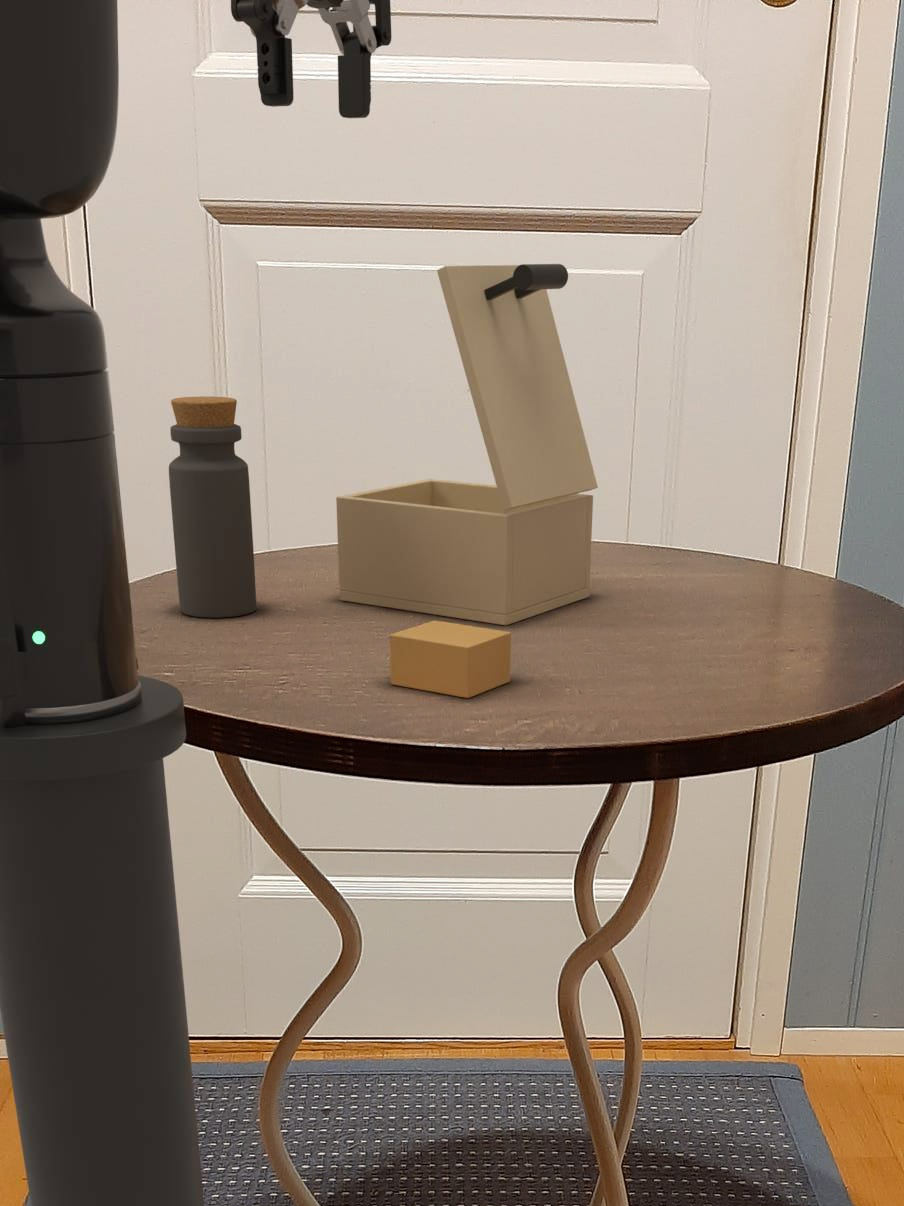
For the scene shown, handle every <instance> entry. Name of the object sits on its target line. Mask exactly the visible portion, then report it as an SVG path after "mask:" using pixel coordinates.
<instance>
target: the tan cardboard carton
mask: <svg viewBox="0 0 904 1206" xmlns="http://www.w3.org/2000/svg"><path fill="white" fill-rule="evenodd" d="M511 650H512V633H511V632H510V631H505V630H498V629H492V628H486V627H479V626H473V625H465V624H461V623H454V622H448V621H447V622H446V621H440V620H431V621H429V622H426V623H422V624H419V625H416V626H413V627H409V628H406V629H404V630H401V631H397V632H394V633H391V634H389V657H390V658H389V659H390V661H389V663H390V685H393V686H397V687H404V688H409V689H415V690H420V691H425V692H432V693H435V694H436V693H437V694H441V695H447V696H448V695H449V696H454V697H459V698H464V699H470V698H472V697H475V696H477V695H480V694H482V693H485V692H487V691H490V690H492V689H495V688H497V687H500V686H503V685H505V684H507V683H510V682H511V657H512V656H511V652H512V651H511Z"/></svg>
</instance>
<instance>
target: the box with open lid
mask: <svg viewBox="0 0 904 1206" xmlns="http://www.w3.org/2000/svg"><path fill="white" fill-rule="evenodd" d="M335 500H336V529H337V531H336V532H337V533H336V534H337V552H338V553H337V556H338V557H337V558H338V559H337V560H338V561H337V563H338V585H339V586H338V587H339V601H342V602H348V603H349V602H350V603H355V604H362V605H369V606H376V607H383V608H387V609H395V610H402V611H408V612H415V613H422V614H426V615H427V614H428V615H435V616H441V617H446V618H447V617H448V618H453V619H461V620H466V621H474V622H480V623H486V624H493V625H499V626H505V627H506V626H508V625H511V624H515V623H517V622H520V621H522V620H525V619H529V618H532V617H535V616H537V615H540V614H543V613H546V612H549V611H552V610H555V609H558V608H561V607H564V606H567V605H569V604H573V603H575V602H579V601H581V600H584V599H587V598H589V597H590V585H591V583H590V581H591V560H592V559H591V558H592V557H591V556H592V535H593V534H592V533H593V512H594V495H593V494H585V493H577V494H573V495H569V496H564V497H560V498H556V499H552V500H548V501H543V502H539V503H535V504H531V505H527V506H522V507H518V508H514V509H510V510H505V511H504V510H503V507H502V503H501V500H500V496H499V493H498V489H497V485H496V484H495V485H494V484H485V483H476V482H465V481H456V480H455V481H454V480H447V479H435V478H426V479H422V480H417V481H412V482H411V481H410V482H407V483H401V484H396V485H390V486H386V487H381V488H376V489H371V490H365V491H361V492H355V493H351V494H344V495H340V496H335Z"/></svg>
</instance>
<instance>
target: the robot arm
mask: <svg viewBox="0 0 904 1206" xmlns="http://www.w3.org/2000/svg"><path fill="white" fill-rule="evenodd" d="M371 5H374V16H375V25H372V23H371V20H370V18H369V10H370V9H371ZM305 6H307V7H309V8H312V9H317V10H318V12H319V13H318V14H319V15H320V18H321V19H322V21H323V22H324V23H325V24H327V25H328V26H329V27H330V29H331V32H332V34H333V37H334V39H335V42H336V45H337V47H338V49H339V52H340V54H338V55H337V88H338V90H337V92H338V113H339V115H340V117H342V118H344V119H365V118H368V116H369V115H370V112H371V103H372V91H371V90H372V85H371V83H372V78H371V77H372V73H371V72H372V71H371V67H372V66H371V65H372V64H371V59H372V54H373V53H375V52H376V50H377V49H378V48H380V47H384V46H390V44H391V42H392V15H391V14H392V13H391V0H230V12H231V16H232V18H233V20H234V21H235V22H237V23H242V22H243V23H244V24H246V25H247V26H248V27H249V29H250V32H251V34H252V36H253V37H254V38H255V42H256V63H257V74H258V75H257V86H258V89H259V93H260V100H261V103H262V104H263V105H264V106H266V107H273V108H275V107H290V106H291V105H292V104H293V102H294V97H295V96H294V69H293V65H294V64H293V39H292V38H289V37H286V36H288V35H290V32H291V30H292V28H293V25H294V23H295V20H296V19H297V18H296V17H297V15H298V13H299V11H300V10H301V9H302V8H304V7H305ZM118 12H119V11H118V0H0V726H1V727H3V728H13V727H18V726H25V725H54V724H67V723H77V722H84V721H91V720H96V719H101V718H106V717H109V716H113V715H116V714H119V713H122V712H125V711H127V710H129V709H131V708H133V707H135V706H136V705H137V704H139V703H140V701H141V699H142V693H141V683H140V679H139V678H138V675H139V672H138V670H139V665H138V658H137V651H136V643H135V642H136V641H135V640H136V639H135V632H134V621H133V620H134V619H133V610H132V601H131V590H130V589H131V588H130V580H129V579H130V578H129V569H128V560H127V559H128V558H127V549H126V540H125V530H124V519H123V518H124V517H123V507H122V498H121V497H122V496H121V489H120V488H121V487H120V477H119V476H120V475H119V467H118V458H117V457H118V456H117V446H116V436H115V433H114V432H115V425H114V414H113V404H112V393H111V383H110V374H109V371H108V369H107V368H109V365H108V354H107V346H106V345H107V344H106V336H105V335H106V334H105V329H104V325H103V322H102V321H103V320H102V319H101V317H100V315H99V314H98V312H97V311H96V309H95V308H93V306H91V305H90V304H89V303H87V302H86V301H84V300H83V299H82V298H81V297H79V296H78V295H76V294H75V293H74V292H73V291H72V290H71V289H70V288H69V287H68V286H67V285H66V284H65V283H64V282H63V281H62V279H61V278H60V276H59V275H58V273H57V271H56V270H55V268H54V266H53V265H52V262H51V260H50V257H49V253H48V249H47V245H46V241H45V234H44V229H43V224H42V220H43V219H45V220H46V219H55V218H60V217H64V216H68V215H70V214H73V213H75V212H76V211H78V210H80V209H81V208H83V206H85V205H86V204H87V203H88V202H89V201H90V200H91V199H92V198H93V197H94V196H95V194H96V192H97V191H98V189H99V188H100V186H101V184H102V183H103V181H104V180H105V177H106V175H107V171H108V169H109V167H110V163H111V160H112V157H113V153H114V149H115V142H116V138H117V137H116V136H117V129H118V115H119V91H120V90H119V89H120V88H119V84H120V83H119V82H120V81H119V80H120V78H119V77H120V71H119V68H120V67H119V63H120V62H119V60H120V59H119V15H118V14H119V13H118ZM349 22H350V23H351V24H352V31H351V30H350V28H349V25H348V23H349Z"/></svg>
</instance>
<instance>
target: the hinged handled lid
mask: <svg viewBox="0 0 904 1206" xmlns="http://www.w3.org/2000/svg"><path fill="white" fill-rule="evenodd" d="M436 273H437V276H438V279H439V283H440V287H441V289H442V294H443V298H444V301H445V305H446V309H447V312H448V316H449V319H450V323H451V326H452V330H453V334H454V337H455V341H456V345H457V348H458V353H459V357H460V359H461V363H462V366H463V370H464V373H465V377H466V380H467V384H468V388H469V392H470V395H471V399H472V402H473V406H474V409H475V413H476V417H477V421H478V425H479V428H480V432H481V434H482V438H483V442H484V446H485V450H486V453H487V456H488V460H489V463H490V468H491V471H492V474H493V478H494V481H495V485H496V486H497V489H498V493H499V496H500V500H501V503H502V507H503V510H504V511H505V510H510V509H514V508H518V507H522V506H527V505H531V504H535V503H539V502H543V501H548V500H552V499H556V498H560V497H564V496H569V495H573V494H582V493H585V492H589V491H592V490H596V489H598V482H597V479H596V475H595V471H594V468H593V463H592V459H591V455H590V451H589V449H588V444H587V440H586V437H585V432H584V429H583V425H582V422H581V416H580V414H579V413H580V412H579V409H578V405H577V402H576V398H575V394H574V391H573V386H572V383H571V379H570V375H569V371H568V367H567V364H566V360H565V355H564V352H563V348H562V345H561V340H560V337H559V333H558V328H557V325H556V322H555V318H554V314H553V309H552V305H551V301H550V298H549V295H548V290H560V289H562V288H564V287H565V286H566V285H567V283H568V280H569V274H568V273H569V272H568V270H567V268H566V266H564V265H563V264H561V263H535V264H534V263H530V264H529V263H528V264H527V263H525V264H524V263H521V264H511V265H510V264H508V265H507V264H505V265H504V264H501V265H499V264H497V265H445V266H442V267H440V268H438V269H437V270H436Z"/></svg>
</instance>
